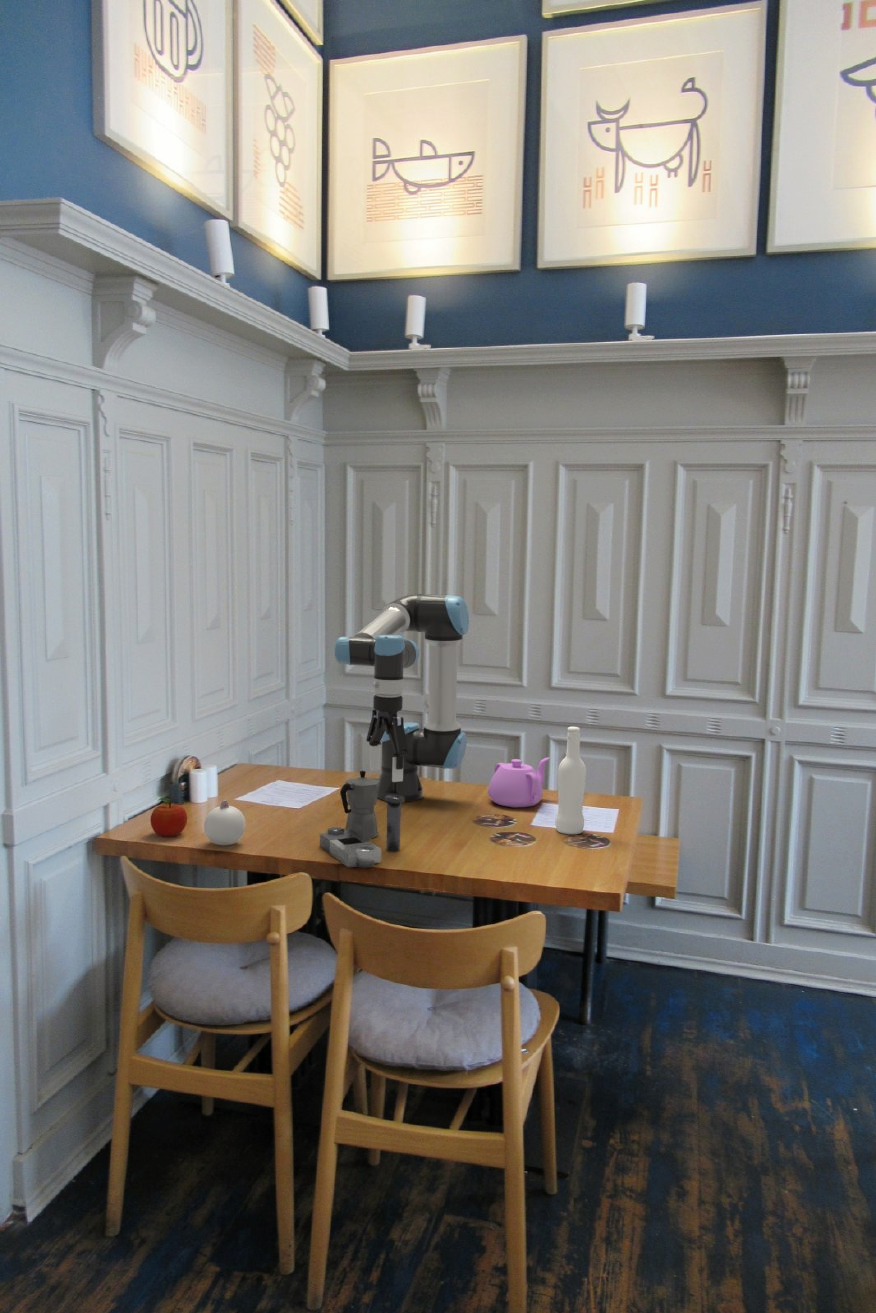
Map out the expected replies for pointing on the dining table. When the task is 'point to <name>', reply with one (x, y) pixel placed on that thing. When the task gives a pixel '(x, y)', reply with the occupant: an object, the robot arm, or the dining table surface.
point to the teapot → (517, 784)
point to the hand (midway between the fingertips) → (385, 775)
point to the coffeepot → (361, 805)
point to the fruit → (168, 819)
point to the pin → (393, 821)
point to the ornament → (224, 824)
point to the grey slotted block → (350, 848)
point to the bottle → (571, 787)
